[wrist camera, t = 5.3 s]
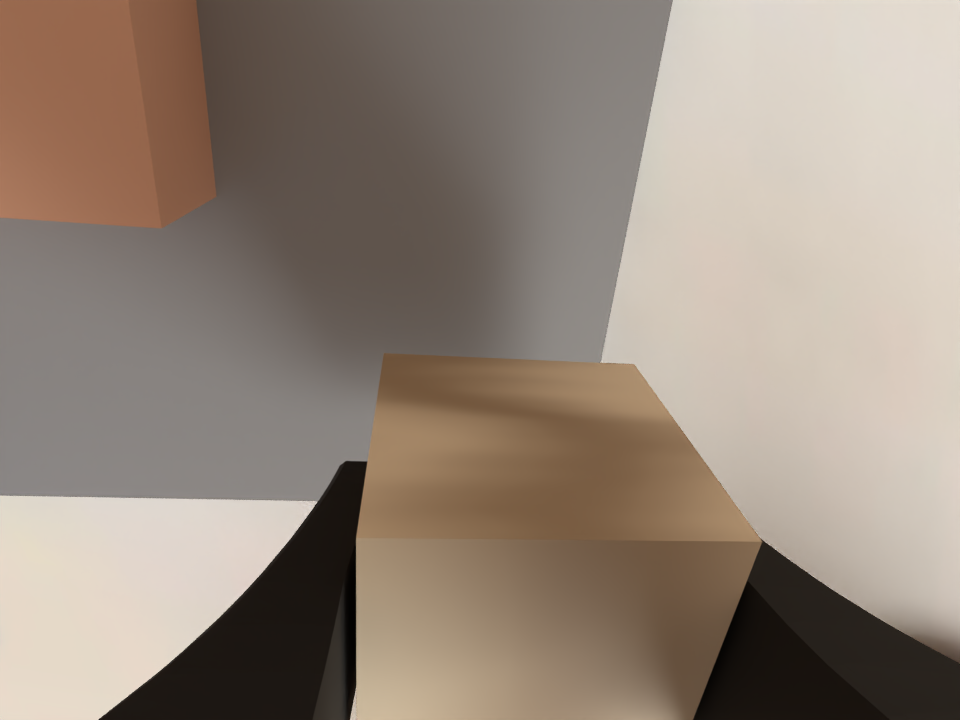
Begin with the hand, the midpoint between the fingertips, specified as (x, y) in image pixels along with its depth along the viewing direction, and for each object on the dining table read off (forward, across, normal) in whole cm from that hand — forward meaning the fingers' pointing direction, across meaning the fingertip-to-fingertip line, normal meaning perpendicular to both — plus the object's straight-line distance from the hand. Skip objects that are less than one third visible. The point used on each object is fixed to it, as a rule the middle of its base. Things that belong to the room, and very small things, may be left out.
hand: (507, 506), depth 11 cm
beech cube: (+1, 0, 0) cm, 1 cm away
